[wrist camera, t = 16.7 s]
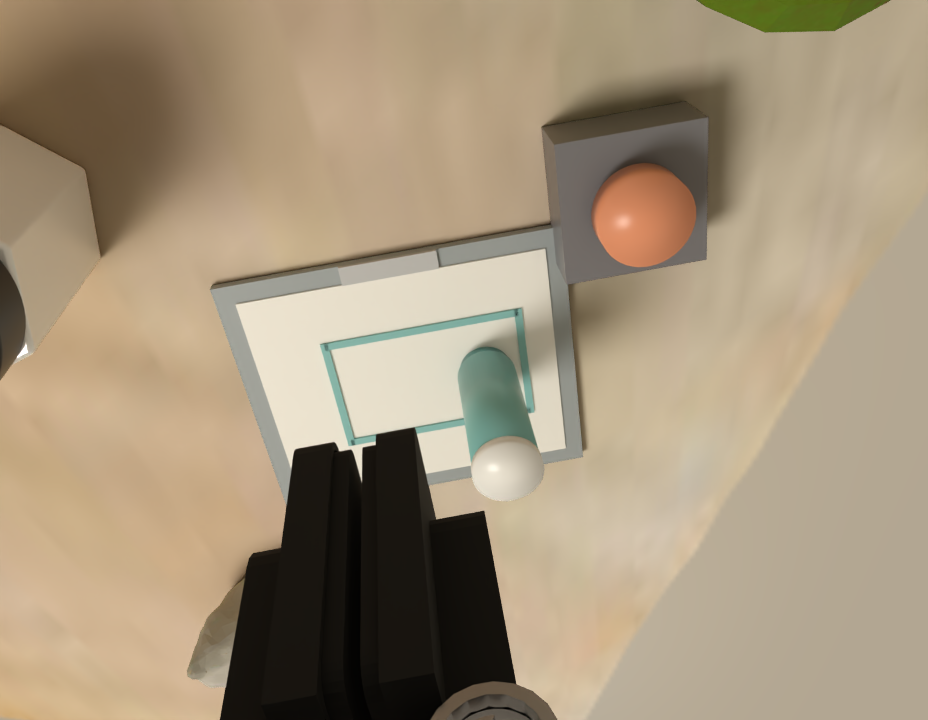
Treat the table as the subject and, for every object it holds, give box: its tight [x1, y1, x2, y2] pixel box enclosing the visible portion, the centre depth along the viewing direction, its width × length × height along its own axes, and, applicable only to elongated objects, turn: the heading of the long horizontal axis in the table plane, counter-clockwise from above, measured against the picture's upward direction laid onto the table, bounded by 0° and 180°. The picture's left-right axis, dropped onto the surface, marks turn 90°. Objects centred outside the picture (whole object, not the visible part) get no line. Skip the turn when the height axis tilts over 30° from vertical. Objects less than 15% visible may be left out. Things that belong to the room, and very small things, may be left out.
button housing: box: [542, 101, 708, 285], centre depth 39 cm, size 7×7×3 cm
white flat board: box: [210, 224, 583, 505], centre depth 44 cm, size 18×15×1 cm
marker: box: [458, 347, 544, 501], centre depth 40 cm, size 3×3×9 cm
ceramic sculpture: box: [187, 578, 245, 688], centre depth 50 cm, size 11×9×15 cm
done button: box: [591, 163, 696, 267], centre depth 37 cm, size 4×4×4 cm
